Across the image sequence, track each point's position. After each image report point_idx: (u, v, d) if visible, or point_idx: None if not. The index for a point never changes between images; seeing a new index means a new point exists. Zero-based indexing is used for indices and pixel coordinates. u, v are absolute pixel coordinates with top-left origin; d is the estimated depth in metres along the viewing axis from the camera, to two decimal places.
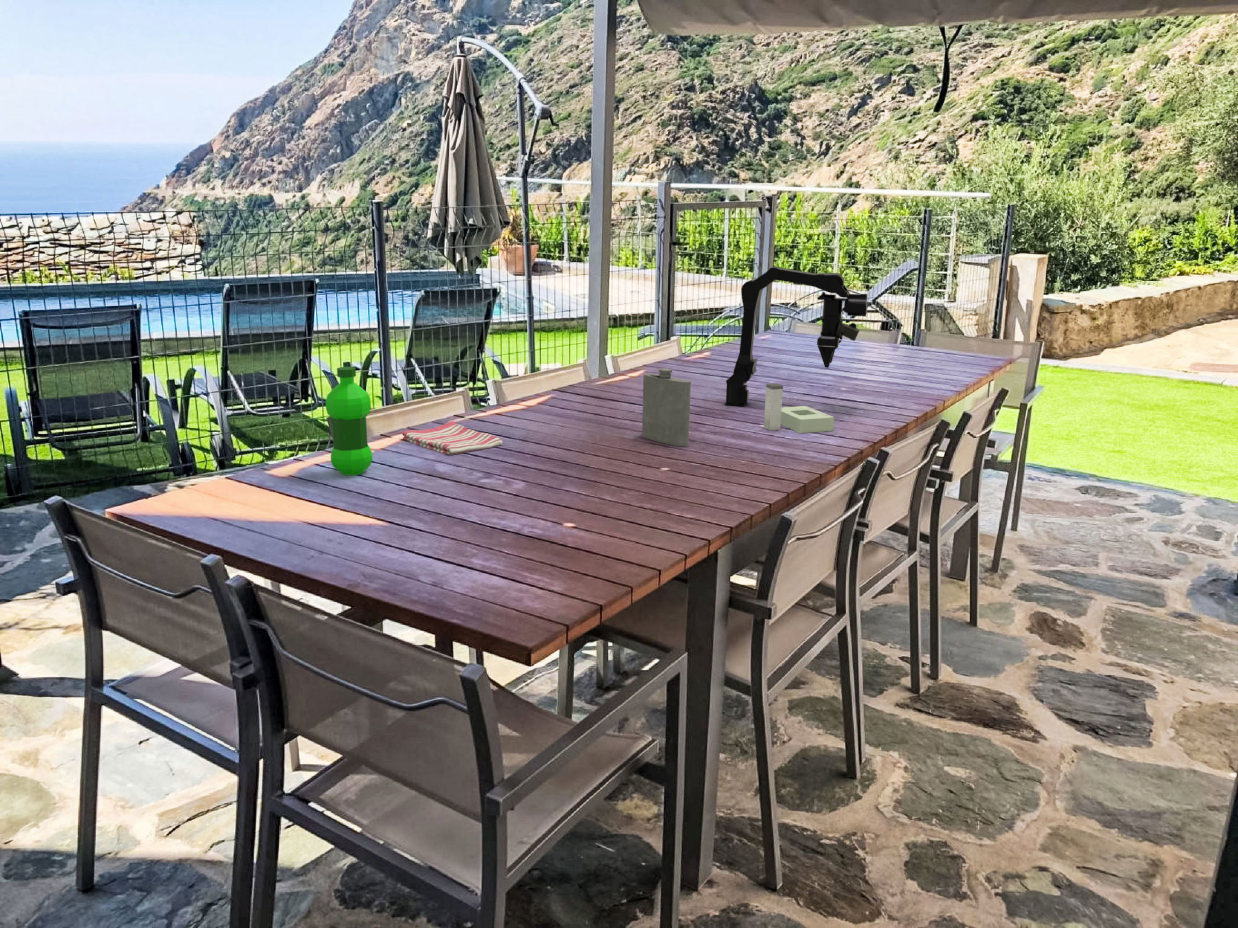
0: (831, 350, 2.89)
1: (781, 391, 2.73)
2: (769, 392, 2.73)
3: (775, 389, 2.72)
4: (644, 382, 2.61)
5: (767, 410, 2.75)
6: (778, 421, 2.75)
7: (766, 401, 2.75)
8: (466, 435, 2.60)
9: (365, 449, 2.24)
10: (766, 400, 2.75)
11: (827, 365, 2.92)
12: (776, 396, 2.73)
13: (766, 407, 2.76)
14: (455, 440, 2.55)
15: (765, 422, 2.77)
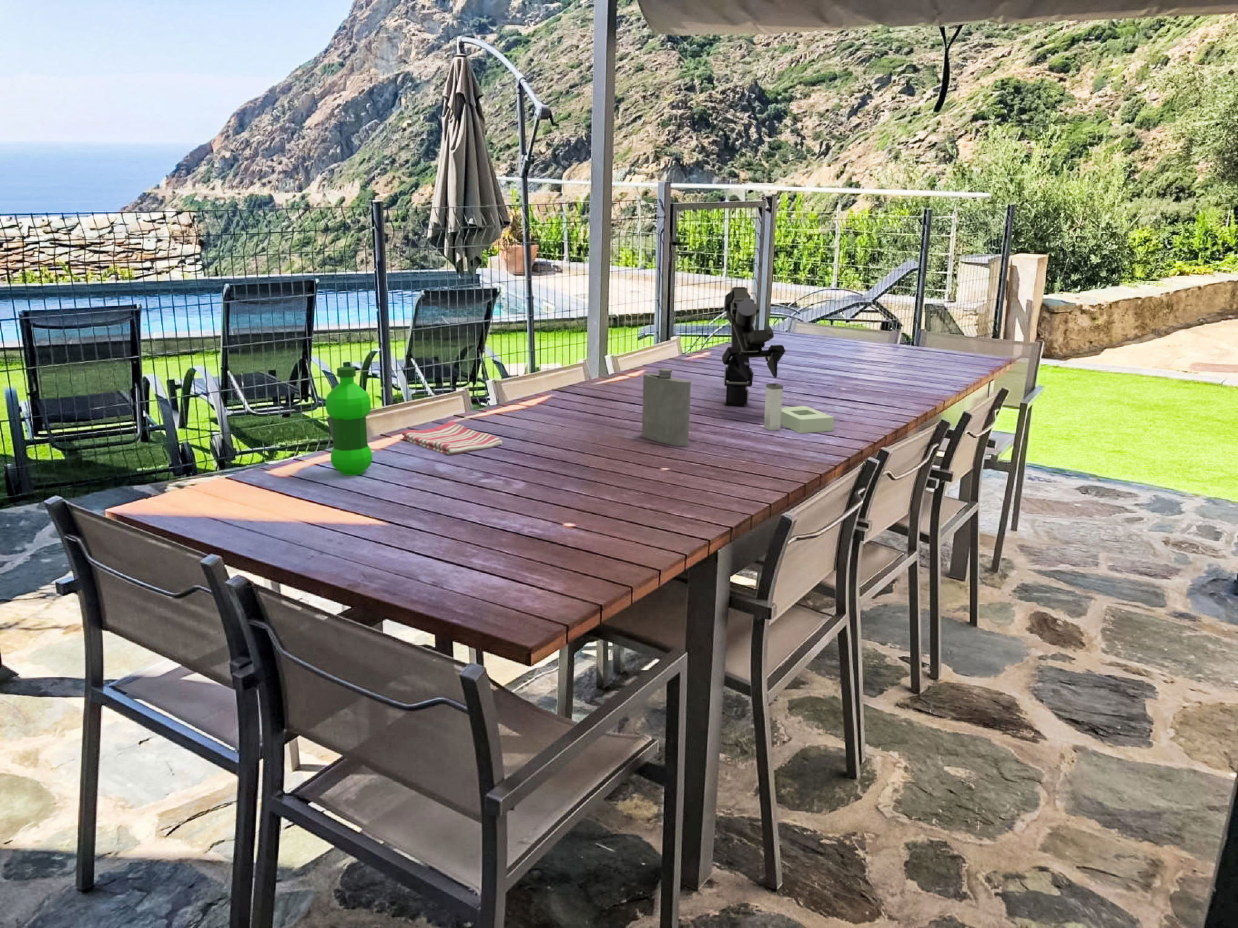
0: (738, 361, 2.80)
1: (781, 391, 2.73)
2: (769, 392, 2.73)
3: (775, 389, 2.72)
4: (644, 382, 2.61)
5: (767, 410, 2.75)
6: (778, 421, 2.75)
7: (766, 401, 2.75)
8: (466, 435, 2.60)
9: (365, 449, 2.24)
10: (766, 400, 2.75)
11: (746, 376, 2.79)
12: (776, 396, 2.73)
13: (766, 407, 2.76)
14: (455, 440, 2.55)
15: (765, 422, 2.77)
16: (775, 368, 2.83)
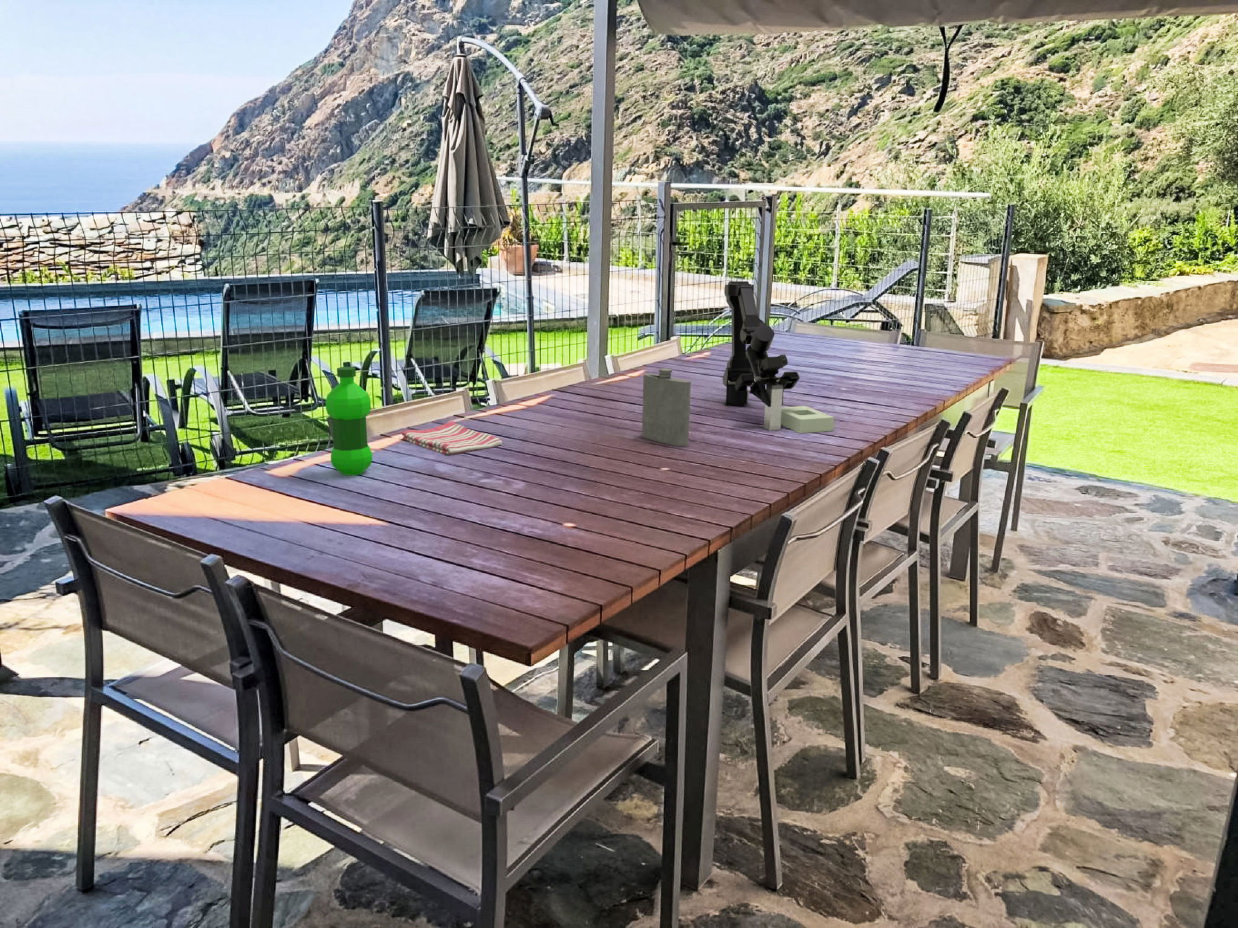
0: (759, 387, 2.74)
1: (781, 391, 2.73)
2: (769, 392, 2.73)
3: (775, 389, 2.72)
4: (644, 382, 2.61)
5: (767, 410, 2.75)
6: (778, 421, 2.75)
7: None
8: (465, 435, 2.60)
9: (365, 449, 2.24)
10: None
11: (768, 403, 2.73)
12: (776, 396, 2.73)
13: (766, 407, 2.76)
14: (455, 440, 2.55)
15: (765, 422, 2.77)
16: None
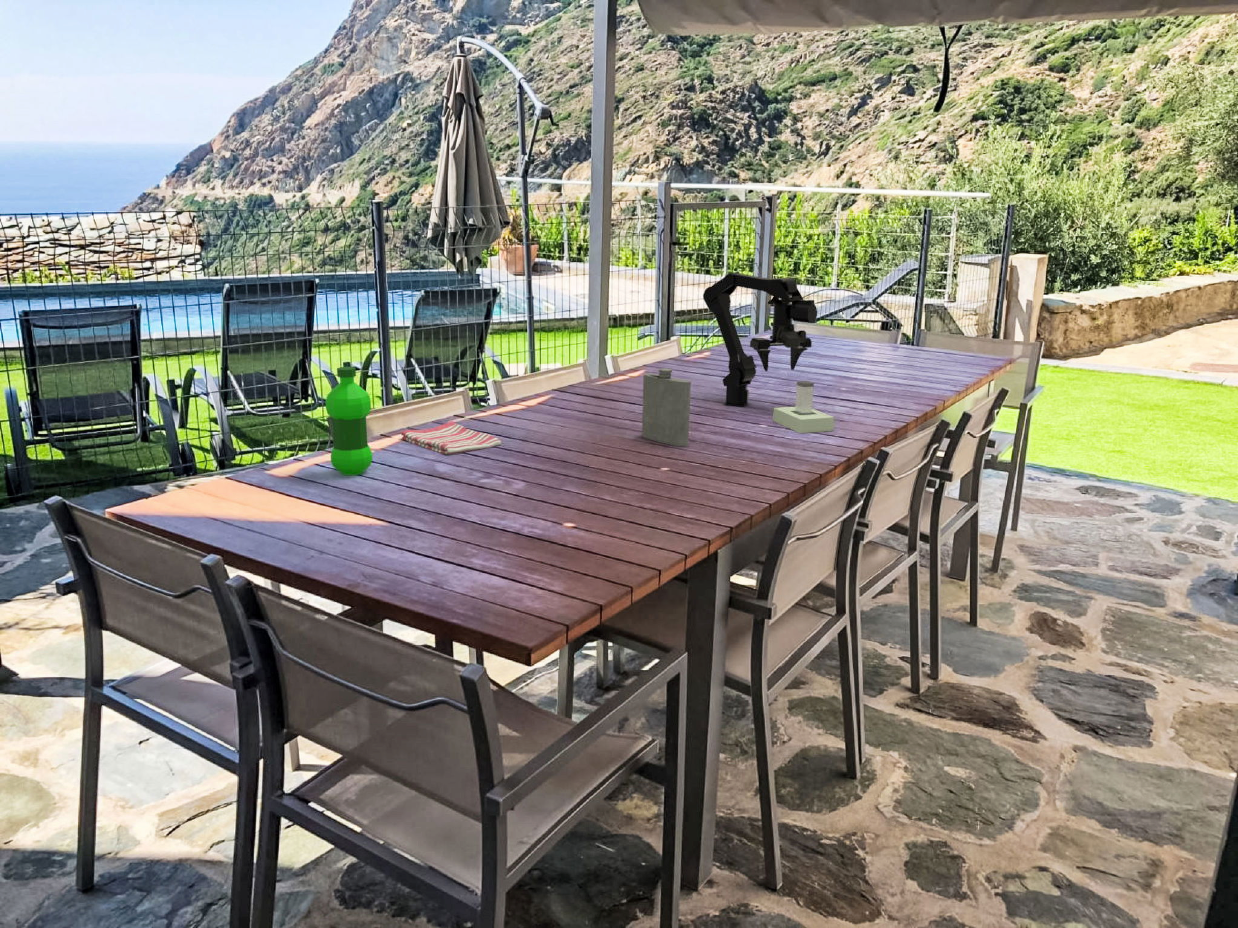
0: (763, 353, 2.92)
1: (812, 389, 2.77)
2: (800, 390, 2.77)
3: (806, 386, 2.76)
4: (644, 382, 2.61)
5: (798, 407, 2.79)
6: None
7: (797, 399, 2.79)
8: (465, 435, 2.60)
9: (365, 449, 2.24)
10: (797, 397, 2.79)
11: (765, 368, 2.94)
12: (807, 394, 2.77)
13: (796, 404, 2.80)
14: (454, 440, 2.55)
15: None
16: (795, 362, 2.96)
